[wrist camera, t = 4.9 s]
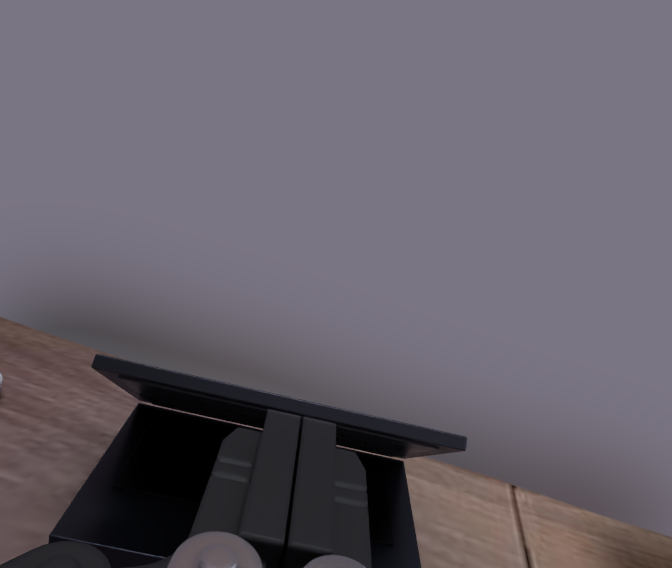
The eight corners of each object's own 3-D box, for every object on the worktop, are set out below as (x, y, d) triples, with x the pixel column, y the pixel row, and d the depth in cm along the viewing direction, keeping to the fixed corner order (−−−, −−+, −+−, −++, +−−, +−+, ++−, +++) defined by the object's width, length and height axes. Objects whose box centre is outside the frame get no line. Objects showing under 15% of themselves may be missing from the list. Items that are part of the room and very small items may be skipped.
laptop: (416, 642, 23) (429, 610, 23) (45, 569, 22) (48, 533, 21) (395, 484, 33) (404, 459, 32) (134, 428, 32) (138, 400, 31)
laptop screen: (465, 453, 23) (467, 436, 23) (89, 369, 22) (95, 353, 22) (403, 460, 32) (405, 448, 32) (138, 402, 31) (142, 390, 31)
